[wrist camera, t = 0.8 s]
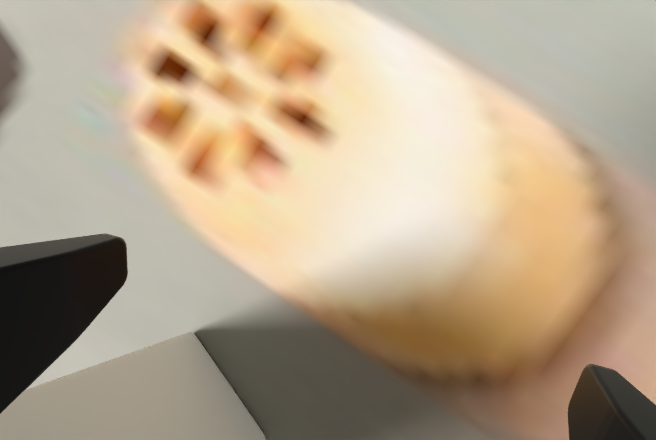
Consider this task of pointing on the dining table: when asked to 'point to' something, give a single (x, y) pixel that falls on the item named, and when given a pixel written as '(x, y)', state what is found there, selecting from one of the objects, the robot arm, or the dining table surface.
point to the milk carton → (135, 400)
